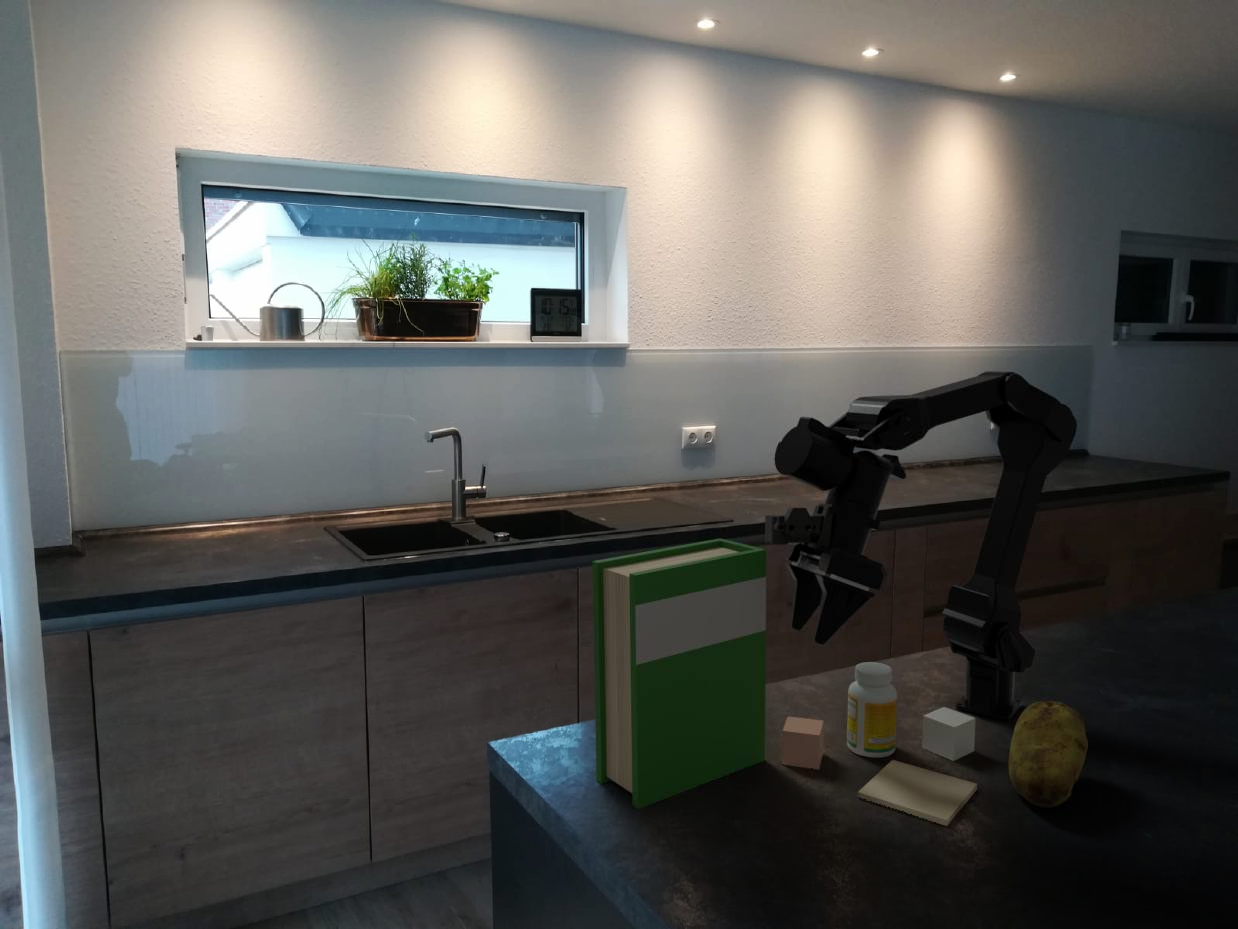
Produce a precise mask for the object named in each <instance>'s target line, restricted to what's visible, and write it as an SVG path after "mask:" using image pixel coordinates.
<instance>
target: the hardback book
mask: <svg viewBox="0 0 1238 929" xmlns="http://www.w3.org/2000/svg"><path fill="white" fill-rule="evenodd" d="M592 602H593V603H592V605H593V606H592V609H593V610H592V611H593V652H594V653H593V654H594V655H593V658H594V662H593V663H594V667H593V668H594V702H595V704H594V705H595V706H594V712H595V713H594V715H595V755H596V756H595V758H596V759H595V764H596V765H595V766H596V768H595V769H596V782H598V783H599V784H601V785H603V784H606V783H608V782H609V783H610V782H611V781H612V782H614V783H616V784H617V785H619V786H620V787H622V788H623V789H624V790H626V791H628V792H629V793H631V794H632V795H631V796H632V797H631V798H632V806H633V807H635V808H636V809H637V810H639V809H642V808H644V807H648V806H651V805H653V804H655V803H657V802H660V801H663V800H666V799H668V798H670V797H673V796H676V795H678V794H681V793H683V792H686V790H687V791H689V790H692V789H694V788H696V787H697V788H698V787H700V786H702V785H704V784H707V783H709V782H712V781H711V780H713V781H715V780H717V778H718V779H720V778H723V777H726V776H728V775H730V774H729V773H731V774H733V773H735V771H736V772H738V771H737V770H739V771H741V770H744V769H746V768H748V767H751V766H754V765H757V764H759V763H761V762H764V761H763V760H766V674H767V673H766V672H767V671H766V666H767V664H766V660H767V659H766V656H767V654H766V652H767V651H766V649H767V648H766V647H767V646H766V645H767V642H766V641H767V640H766V639H767V638H766V636H767V633H766V630H767V549H765V548H762V547H757V546H752V545H749V544H745V543H741V542H736V541H732V540H729V539H724V538H715V539H710V540H704V541H699V542H692V543H688V544H682V545H681V544H680V545H677V546H670V547H665V548H660V549H655V550H654V549H653V550H648V551H644V552H643V551H642V552H638V553H636V552H635V553H631V554H627V555H625V554H624V555H621V556H614V557H609V558H603V559H598V560H593V561H592ZM756 763H757V764H756ZM745 767H746V768H745ZM725 775H726V776H725ZM701 784H702V785H701ZM699 785H700V786H699Z"/></svg>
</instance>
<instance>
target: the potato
mask: <svg viewBox="0 0 1238 929" xmlns="http://www.w3.org/2000/svg"><path fill="white" fill-rule="evenodd" d="M1088 747H1089V739H1088V737H1087V735H1086V724H1085V719H1084V718H1083V715H1082V714H1081V713H1080V712H1079V711H1078V710H1076V709H1075V708H1073V707H1071V706H1070V705H1068V704H1066V703H1063V702H1061V701H1056V700H1042V701H1041V700H1040V701H1036V702H1033V703H1032V704H1029V705H1028V706H1027V707H1026V708H1025V709H1024V710H1023V711H1022V713H1021V714H1020V716H1019V717H1018V719H1017V721H1016V724H1015V726H1014V729H1013V735H1012V737H1011V739H1010V747H1009V754H1008V773H1009V778H1010V782H1011V784H1012V786H1013V787H1014V789H1015V791H1016V792H1017V793H1018V794H1019V796H1021V797H1022V798H1023V799H1025V800H1026V801H1027V802H1029V803H1030V804H1032V805H1035V806H1036V807H1039V808H1041V809H1042V808H1054V807H1058V806H1059V805H1060V806H1061V804H1063V803H1064V802H1066V801H1068V799H1069V798H1070V797H1071V796H1072V794H1073V793H1072V790H1073V787H1074V784H1077V782H1078V781H1079V780H1080V777H1081V774H1082V772H1083V766H1084V764H1085V760H1086V757H1087V753H1088V752H1087V751H1088Z"/></svg>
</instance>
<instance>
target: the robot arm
mask: <svg viewBox="0 0 1238 929" xmlns="http://www.w3.org/2000/svg"><path fill="white" fill-rule="evenodd" d="M980 413H985V414H986V419H987V420H988V421H989V422H990V423H991V424H992V425H994V426H995V427H996V428H997V429H998V434H997V435H998V436H997V443H996V444H997V449H998V451H999V452H998V453H999V454H1000V460H1001V461H1002V471H1001V475H1000V478H999V483H998V485H997V488H996V492H995V496H994V498H993V503H992V506H991V507H992V508H991V510H990V512H989V513H990V514H989V518H988V520H987V524H986V528H985V532H984V536H983V539H982V542H981V545H980V549H979V553H978V556H977V559H976V562H975V566H974V570H973V573H972V574H971V577H970V578H969V579H968V580H967V581H965V583H964V584H962V585H961V586H958V585H956V584H953V585H952V586H951V587H950V588H949V591H948V597H947V601H946V605H945V608H944V609H943V611H942V612H941V616H943V617H944V618H943V624H942V626H943V627H942V628H943V631H944V632H945V634H946V636H947V639H948V644H949V647H950V650H951V653H953V654H957V655H960V656H962V657H964V658H965V676H964V677H965V683H964V685H965V686H964V695H963V696H962V697H960V699H958V700H957V702H955V703H954V707H955V709H957V710H961V711H965V712H970V713H974V714H978V715H979V714H980V715H984V716H987V717H990V718H991V717H993V718H997V719H999V720H1000V719H1001V720H1005V721H1008V720H1010V719H1011V718H1012V717H1013V716H1014V715H1015V713H1017V711H1018V710H1019V709H1020V708H1021V707H1022V706H1023V701H1022V699H1021V700H1020V699H1017V698H1014V696H1015V679H1016V677H1015V675H1016V673H1020V674H1021V673H1024V672H1025V669H1028V668H1031V667H1032V665H1033V661H1034V658H1035V654H1036V650H1035V649H1034V647H1033V646H1032V645H1031V644H1030V643H1029V641H1028V640H1027V639H1026V638H1025V637H1024V636H1023V634H1022V633H1021V632H1020V627H1021V620H1022V619H1021V618H1022V610H1021V607H1020V602H1019V600H1018V596H1017V593H1016V584H1017V580H1018V577H1019V573H1020V570H1021V567H1022V564H1023V559H1024V556H1025V553H1026V548H1027V547H1028V546H1027V544H1028V542H1029V539H1030V538H1029V537H1030V536H1031V531H1032V527H1033V524H1034V520H1035V517H1036V513H1037V510H1038V507H1039V502H1040V500H1041V496H1042V492H1043V489H1044V485H1045V481H1046V479H1047V477H1048V476H1049V475H1050V474H1051V473H1052V471H1054V469H1056V468H1057V467H1058V466H1059V465H1060V464H1061V463H1062V462H1063V461H1064V460H1065V459H1066V458H1067V455H1068V453H1069V451H1070V449H1071V447H1072V444H1073V441H1074V439H1075V438H1076V433H1077V429H1078V428H1077V427H1078V421H1077V419H1076V417H1075V415H1074V414H1073V412H1072V410H1071V408H1070V407H1069V406H1068V405H1066V404H1065V403H1061V401H1060V400H1059V399H1057V397H1054V396H1053V395H1052V394H1049V393H1047V392H1045V391H1043V390H1042V389H1040V388H1038V387H1036V386H1034V385H1032V384H1031V383H1029V381H1027V380H1026V378H1025V377H1023V376H1022V375H1020V374H1018V373H1016V372H1015V371H989V370H988V371H984V372H982V373H980V374H978V375H976V376H972V377H968V378H967V379H963V380H959V381H955V382H951V383H948V384H944V385H940V386H938V387H934V388H930V389H927V390H923V391H919V392H915V393H913V394H903V395H901V394H896V395H893V394H892V395H869V396H859V397H857V398H856V399H855V398H854V400H852V401H851V403H849V408H848V409H847V411H846V412H845V413H844V414H842V415H841V416H840V417H839V418H838V419H836V420H835V421H834V422H832V423H831V424H830V425H828V426H827V425H825V424H824V423H823V422H821V421H820V420H818V419H817V418H814V417H809V416H808V417H807V416H800V417H799V419H798V422H797V425H796V426H795V427H793V428H790V430H789V431H787V432H786V433H785V434H784V436H783V437H782V440H781V441H779V442H778V444H777V445H776V449H775V452H774V466H775V469H776V470H777V472H778V473H779V474H781V475H783V476H785V477H787V478H790V479H792V480H795V481H797V482H800V483H801V484H804V485H806V486H809V487H811V488H814V489H816V490H819V491H821V492H822V491H823V492H827V491H828V493H827V495H826V499H825V502H824V503H821V502H820V503H818V504H817V505H815V507H814V510H813V512H812V514H810V513H809V511H808V509H807V508H806V507H789V508H787V511H786V513H785V514H765V515H764V523H765V524H764V527H765V529H764V530H765V531H764V532H765V533H764V534H765V535H764V536H765V540H764V542H765V543H770V544H771V545H777V546H778V545H782V546H786V548H785V551H784V553H783V556H782V559H785V560H787V561H789V562H791V563H788V562H786V561H785V562H784V566H785V568H787V570H788V572H789V574H790V575H791V578H792V579H793V596H792V607H791V608H792V609H791V619H790V620H791V623H790V624H791V625H790V627H791V628H792V629H793V630H796V631H801V630H802V629H803V628H804V627H805V625H806V624H807V623H808V621H809V620H810V619H811V618H812V616H813V614H814V613H815V612H816V611H817V609H818V608H819V609H818V613H817V619H816V623H815V629H814V635H813V641H814V643H816V644H819V645H825V644H826V643H827V642H828V641H829V640H830V639H831V638H832V637H833V636H834V634H836V633H837V632H838V631H839V630H840V629H841V627H842V626H843V625H844V624H845V623H846V622H848V620H849V619H851V617H852V616H854V614H855V613H857V612H858V611H859V610H860V609H861V608H862V607H863V606H864V605H865V604H866V603H867V602H868V601H869V600H870V599H874V597H875V596H876V593H873V592H871V591H869V590H870V589H871V590H875V591H878V592H880V593H881V592H883V590H884V587H885V584H886V581H887V577H888V572H887V571H886V568H885V566H884V564H883V562H878V561H876V560H873V559H871V558H870V559H869V557H868V556H866V555H863V554H864V551H865V548H866V546H867V543H868V541H869V540H868V539H869V538H870V535H871V532H872V531H878V530H879V527H880V525H881V521H880V520H877V519H876V517H877V515H878V512H879V508H880V505H881V503H882V499H883V498H884V497H883V496H884V494H885V491H886V488H887V485H888V483H889V478H894V479H899V480H905V479H906V478H907V473H906V471H905V469H904V467H903V466H902V465H901V462H900V459H899V458H900V457H899V456H898V455H895V454H889V453H885V454H883V455H879V454H877V453H874V452H872V451H878V450H885V451H886V450H888V451H902V450H905V449H906V448H908V447H911V446H912V445H913V444H915V443H917V442H919V441H920V440H923V439H924V438H925V436H926V435H927V434H928V432H929V431H930V430H933V429H934V428H935V427H938V426H940V425H944V424H947V423H950V422H955V421H957V420H961V419H964V418H966V417H967V418H968V417H970V416H973V415H977V414H980ZM855 448H857V449H863V450H859V451H857V452H854V451H855ZM864 449H865V450H864ZM871 450H872V451H871ZM827 575H828V576H827ZM829 575H830V576H829Z"/></svg>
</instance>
